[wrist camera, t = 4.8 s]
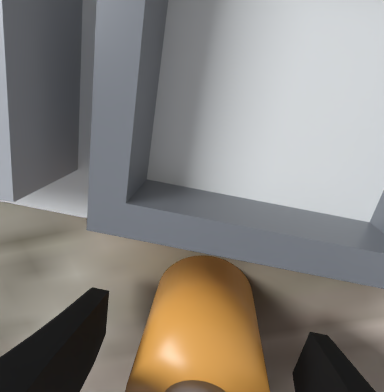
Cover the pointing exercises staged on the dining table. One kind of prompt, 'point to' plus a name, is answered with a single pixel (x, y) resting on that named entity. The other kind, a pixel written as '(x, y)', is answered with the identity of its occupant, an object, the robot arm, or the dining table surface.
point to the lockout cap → (201, 333)
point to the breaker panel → (203, 125)
